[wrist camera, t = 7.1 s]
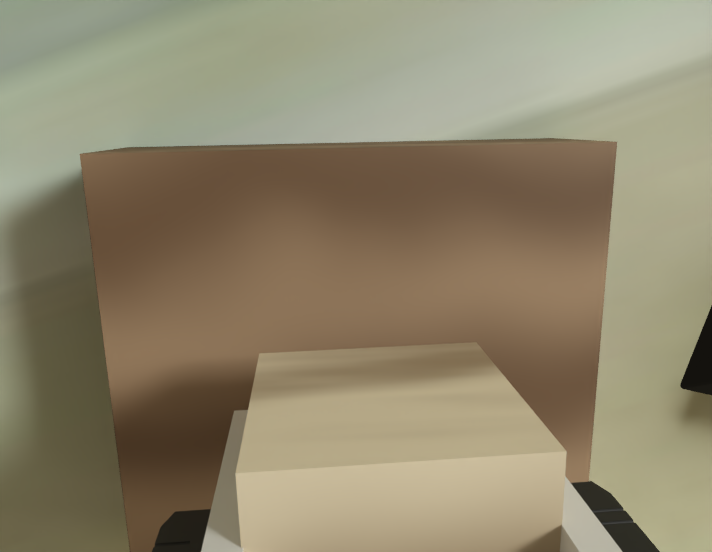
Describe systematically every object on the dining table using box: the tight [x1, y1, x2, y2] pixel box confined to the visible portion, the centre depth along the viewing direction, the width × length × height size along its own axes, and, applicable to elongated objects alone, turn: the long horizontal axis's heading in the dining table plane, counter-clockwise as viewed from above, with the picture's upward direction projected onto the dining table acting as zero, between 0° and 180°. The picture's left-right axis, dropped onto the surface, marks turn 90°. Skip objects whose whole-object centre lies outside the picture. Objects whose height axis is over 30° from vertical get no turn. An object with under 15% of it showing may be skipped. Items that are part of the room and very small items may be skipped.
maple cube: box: [235, 342, 567, 552], centre depth 15 cm, size 6×6×6 cm
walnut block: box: [80, 138, 617, 552], centre depth 22 cm, size 16×16×5 cm
